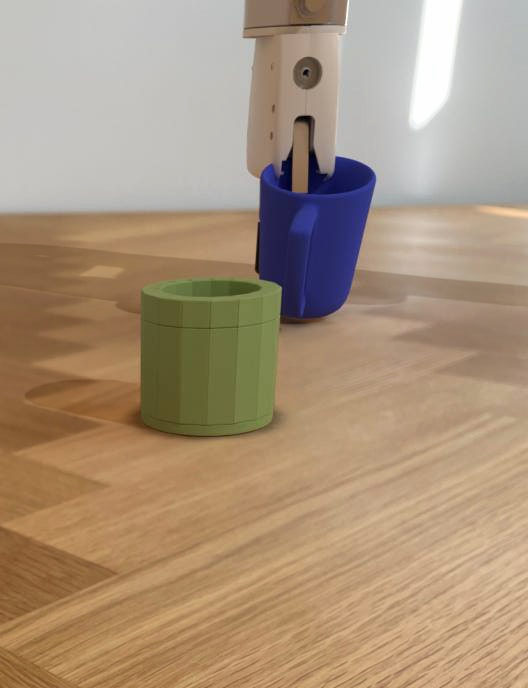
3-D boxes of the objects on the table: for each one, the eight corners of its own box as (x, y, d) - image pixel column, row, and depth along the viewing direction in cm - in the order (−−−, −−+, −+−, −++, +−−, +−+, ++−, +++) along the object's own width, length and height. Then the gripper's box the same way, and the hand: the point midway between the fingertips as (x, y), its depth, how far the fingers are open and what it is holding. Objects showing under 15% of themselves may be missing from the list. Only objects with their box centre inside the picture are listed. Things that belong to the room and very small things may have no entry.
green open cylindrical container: (255, 397, 62) (262, 274, 59) (287, 432, 56) (296, 296, 52) (133, 403, 62) (133, 280, 59) (151, 439, 55) (152, 303, 52)
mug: (230, 346, 78) (240, 212, 71) (259, 277, 86) (271, 150, 80) (342, 359, 76) (363, 222, 69) (361, 286, 84) (382, 157, 77)
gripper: (378, 5, 71) (348, 288, 79) (317, 18, 84) (297, 259, 92) (268, 8, 70) (250, 292, 79) (224, 21, 84) (213, 262, 92)
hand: (276, 274), depth 86 cm, fingers closed
